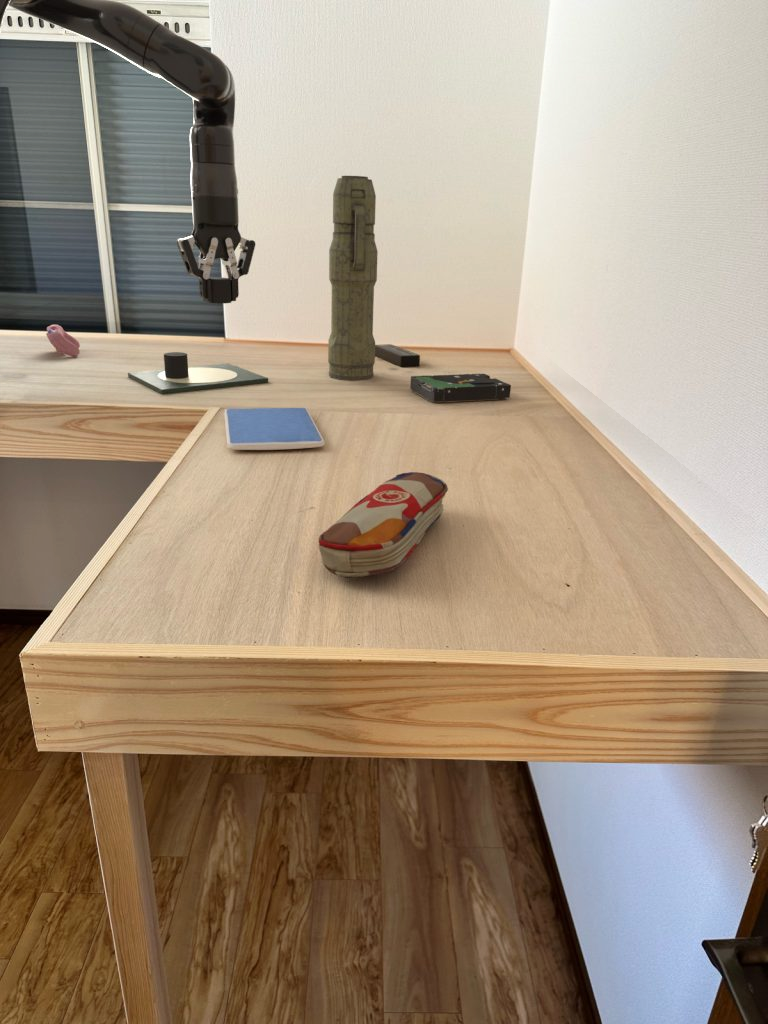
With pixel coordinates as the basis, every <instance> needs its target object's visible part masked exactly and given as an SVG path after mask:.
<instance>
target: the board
mask: <svg viewBox="0 0 768 1024" xmlns="http://www.w3.org/2000/svg"><path fill="white" fill-rule="evenodd" d="M188 374H189V376H188V377H187V378H182V379H170V378H166V377H165V368H164V369H152V370H142V371H140V370H139V371H130V372H127V377H128V378H129V379H131V380H133V381H135V382H138V383H139V384H141V385H143V386H145V387H146V388H149V389H150V390H153V391H155V392H157V393H158V394H161V395H167V394H168V393H169V394H176V393H177V392H178V393H185V392H186V391H187V392H194V391H193V390H196V391H203V390H204V389H205V390H213V389H221V388H230V387H239V386H248V385H258V384H259V385H260V384H267V383H269V378H268V377H266V376H263V375H261V374H258V373H256V372H253V371H250V370H247V369H244V368H242V367H239V366H237V365H234V364H231V363H219V364H210V365H209V364H208V365H207V364H206V365H198V366H197V365H195V366H188ZM187 392H186V393H187Z"/></svg>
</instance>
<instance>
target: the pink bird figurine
mask: <svg viewBox="0 0 768 1024" xmlns="http://www.w3.org/2000/svg"><path fill="white" fill-rule="evenodd" d="M46 331H47V332H46V333H45V335H46V337H47V339H48V341H49V343H50V344H51V345H52V346H53V347H54V349H55V351H56V352H57V353H59V354H60V355H63V354H65V355H67V356H71V357H78V356H79V355H80V346H81V344H80V341H78V339H76V337H74V336H72V335H71V334H69V333H68V332H66V331H65V330H64V328H63V327H62V326H61V325H59V324H51V325H49V326H47V327H46Z"/></svg>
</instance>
